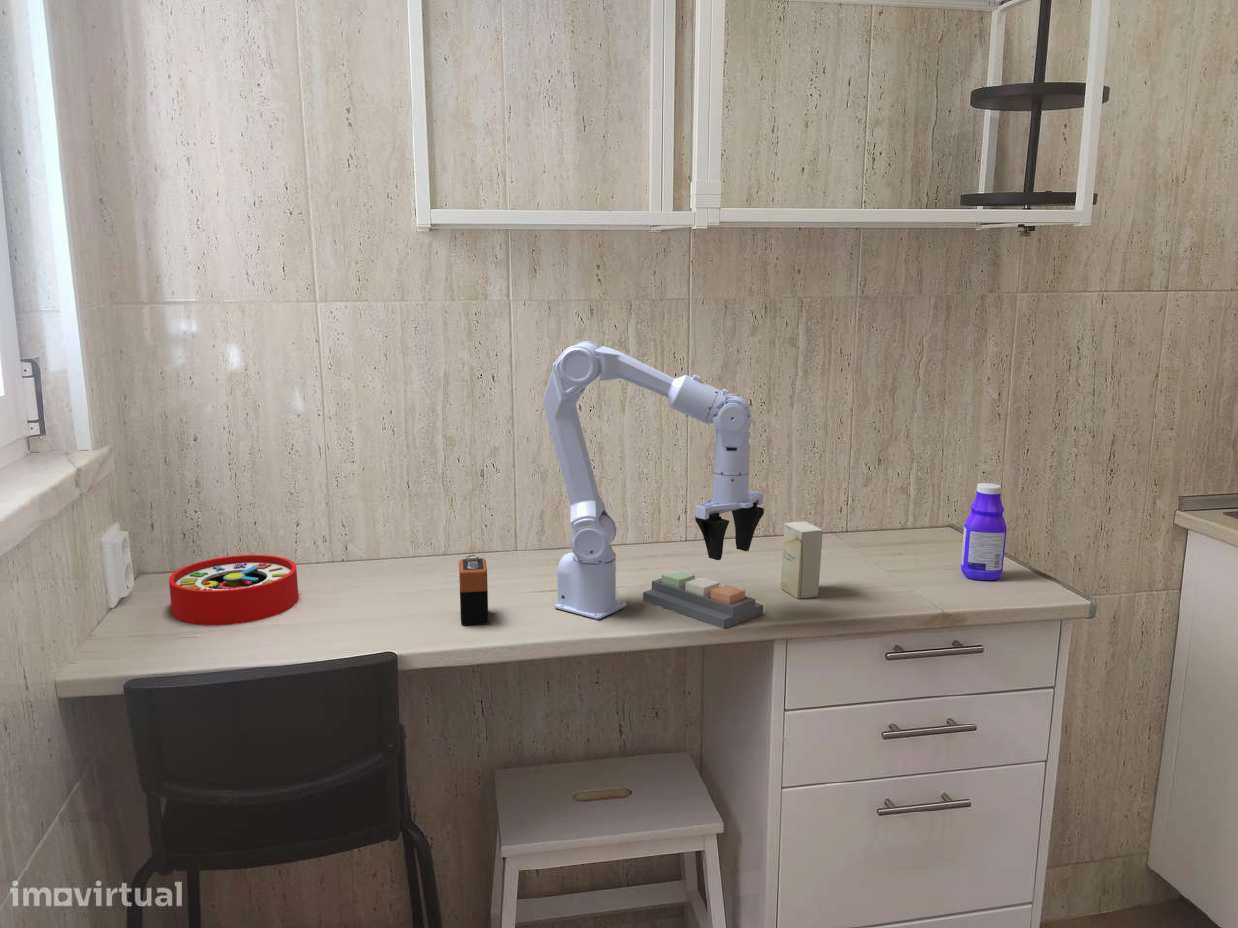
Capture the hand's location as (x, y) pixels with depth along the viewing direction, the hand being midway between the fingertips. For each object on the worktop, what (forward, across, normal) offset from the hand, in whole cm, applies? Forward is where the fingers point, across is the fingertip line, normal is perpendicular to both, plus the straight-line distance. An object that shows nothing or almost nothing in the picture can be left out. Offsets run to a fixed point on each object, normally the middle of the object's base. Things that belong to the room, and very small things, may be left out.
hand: (728, 554), depth 160 cm
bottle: (+11, +50, -19) cm, 54 cm away
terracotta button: (+8, 0, 0) cm, 8 cm away
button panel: (+10, 0, +6) cm, 12 cm away
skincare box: (+11, +18, -2) cm, 21 cm away
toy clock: (+11, -56, +61) cm, 83 cm away
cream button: (+8, 0, +5) cm, 9 cm away
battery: (+11, -31, +28) cm, 43 cm away
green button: (+8, 0, +11) cm, 13 cm away
